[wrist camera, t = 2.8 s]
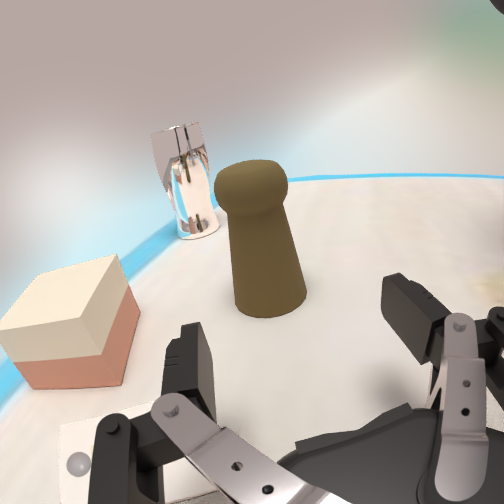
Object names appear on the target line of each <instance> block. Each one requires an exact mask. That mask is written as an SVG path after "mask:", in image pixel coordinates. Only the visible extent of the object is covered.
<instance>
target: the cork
mask: <svg viewBox="0 0 504 504" xmlns="http://www.w3.org/2000/svg"><path fill="white" fill-rule="evenodd" d="M287 191H288V182H287V177H286V174H285V172H284V170H283V169H282V168H281V166H280V165H279V164H278V163H276V162H274V161H270V160H249V161H243V162H240V163H236V164H233V165H231V166H229V167H226V168H224V169H223V170H221V171H220V172H219V173H218V174H217V177H216V179H215V183H214V193H215V197H216V200H217V202H218V204H219V206H220V207H221V208H222V209H223V210H224V211H225V212H226V213H227V216H228V228H229V240H230V252H231V263H232V274H233V285H234V295H235V305H236V306H237V308H238V310H239V311H241V312H242V313H244V314H245V315H248V316H252V317H256V318H271V317H277V316H281V315H284V314H286V313H289V312H291V311H293V310H294V309H296V308H297V307H299V306H300V305H301V304H302V303H303V301H304V300H305V299H306V294H307V290H306V286H305V282H304V278H303V275H302V271H301V267H300V263H299V260H298V256H297V252H296V249H295V245H294V241H293V238H292V234H291V231H290V227H289V224H288V220H287V217H286V213H285V210H284V206H283V201H284V199H285V197H286V195H287Z"/></svg>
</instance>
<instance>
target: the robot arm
mask: <svg viewBox="0 0 504 504" xmlns="http://www.w3.org/2000/svg"><path fill="white" fill-rule="evenodd" d="M490 1H491V3H492V4H493V5H494V6H495V8H496V9H497V10H498V11H500V12H501V13H503V14H504V0H490ZM381 311H382V314H383V317H384V318H385V320H386V321H387V322H388V323H389V325H390V326H391V327H392V328H393V330H394V331H395V332H396V333H397V335H398V336H399V337H400V339H401V340H402V341H403V342H404V344H405V345H406V346H407V348H408V349H409V350H410V351H411V353H412V354H413V355H414V357H415V358H416V359H417V361H418V362H419V363H420V365H423V364H425V363H427V362H429V361H431V363H432V366H431V371H430V381H429V389H428V396H427V402H426V406H425V408H417V409H411V407H410V405H409V404H408V403H405V404H403V405H401V406H399V407H396V408H394V409H392V410H389V411H387V412H385V413H382V414H381V415H380V416H378V417H377V418H375V419H374V420H372V421H371V422H369V423H368V424H366V425H365V426H363V427H362V428H360V429H358V430H355V431H346V432H337V433H327V434H322V435H319V436H315V437H312V438H308V439H305V440H301V441H297V442H295V445H296V450H294V451H292V452H290V453H289V454H287V455H286V456H284V457H283V458H282V459H280V460H279V461H278V462H277V463H275V462H274V461H272V460H271V459H269V458H268V457H267V456H265V455H264V454H262V453H261V452H259V451H258V450H257V449H255V448H254V447H253V446H251V445H250V444H248V443H247V442H246V441H244V440H243V439H242V438H240V437H239V436H238V435H237V434H235V433H234V432H233V431H231V430H230V429H228V428H226V427H223V428H221V427H220V426H218V425H217V420H216V407H215V393H214V377H213V362H212V356H211V352H210V348H209V346H208V343H207V340H206V337H205V335H204V332H203V329H202V326H201V324H200V322H196V323H191V324H186V325H182V326H181V336H180V338H177V339H172V340H171V342H170V344H169V345H168V347H167V348H166V355H165V359H166V360H165V363H164V367H165V368H164V372H163V381H162V390H161V397H159V398H158V399H157V400H156V401H155V402H154V403H153V405H152V407H151V411H149V412H147V413H145V414H143V415H140V416H137V417H134V418H132V419H128V417H126V416H125V415H123V414H121V413H112V414H109V415H107V416H105V417H104V418H103V419H101V421H100V422H99V423H98V425H97V428H96V434H95V440H94V447H93V455H92V462H91V471H90V481H89V492H88V504H165V494H164V477H163V465H165V464H168V463H171V462H173V461H176V460H179V459H181V458H185V459H186V460H187V461H188V462H189V463H190V464H191V465H192V466H193V467H194V468H195V469H196V470H197V471H198V472H199V473H200V474H201V475H202V476H204V477H205V478H206V479H207V480H208V481H209V482H210V483H211V484H212V485H213V486H214V487H215V488H216V489H217V490H219V491H220V492H221V493H222V494H223V495H224V496H225V497H226V498H227V499H229V500H230V501H231V502H232V503H233V504H504V432H501V431H498V430H495V429H491V428H488V427H486V386H487V387H488V389H489V390H490V392H491V393H492V394H493V396H494V397H495V399H496V400H497V402H498V403H499V405H500V406H501V407H502V409H503V410H504V358H503V357H502V356H501V355H502V352H503V350H504V307H494V308H492V309H490V311H489V313H488V316H487V319H481V320H475V321H474V320H473V319H472V318H471V317H469V316H468V315H466V314H463V313H453V314H452V313H451V312H450V311H449V310H448V309H447V308H446V307H445V306H444V305H443V304H442V303H441V302H440V301H438V300H437V299H436V298H435V297H433V295H432V294H431V293H430V292H428V290H426V289H425V288H424V287H423V286H422V285H421V284H419V283H416V282H414V281H412V280H410V281H409V280H408V279H407V278H405V277H404V276H403V275H402V274H401V273H396V274H392V275H389V276H386V277H384V278H383V281H382V295H381Z"/></svg>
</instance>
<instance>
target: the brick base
mask: <svg viewBox="0 0 504 504" xmlns="http://www.w3.org/2000/svg"><path fill="white" fill-rule="evenodd" d="M139 315H140V310H139V308H138V305H137V303H136V301H135V298H134V296H133V294H132V291H131V289H130V286H129V284H128V281H127V279H126V277H125V274H124V271H123V269H122V266H121V264H120V261H119V258H118V256H117V254H114V255H110V256H106V257H102V258H98V259H94V260H90V261H86V262H83V263H79V264H75V265H72V266H68V267H64V268H60V269H57V270H53V271H49V272H46V273H42V274H39V275H38V276H37V277H36V278H35V279H34V281H33V282H32V283H31V284H30V285H29V286H28V287H27V289H26V290H25V291H24V292H23V293H22V294H21V296H20V297H19V298H18V299H17V301H16V302H15V303H14V304H13V305H12V307H11V308H10V309H9V310H8V312H7V313H6V314H5V316H4V317H3V318H2V319H1V321H0V344H1V346H2V347H3V349H4V350H5V352H6V353H7V355H8V356H9V358H10V359H11V361H12V362H13V363H14V365H15V366H16V368H17V369H18V370H19V372H20V373H21V374H22V376H23V377H24V378H25V380H26V381H27V382H28V383H29V385H30V386H31V387H32V388H33V389H70V388H91V387H106V386H119V385H121V384H122V380H123V376H124V371H125V367H126V363H127V359H128V355H129V351H130V348H131V344H132V340H133V336H134V333H135V329H136V326H137V322H138V319H139Z"/></svg>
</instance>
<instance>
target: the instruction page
mask: <svg viewBox="0 0 504 504" xmlns="http://www.w3.org/2000/svg"><path fill="white" fill-rule="evenodd" d="M155 401H156V400H154V401H151V402H148V403H145V404H141V405H138V406H135V407H131V408H128V409H124V410H121V411H117V412H114V413H121V414H123V415H125V416H126V417H128V419H132V418H134V417H137V416H140V415H143V414H145V413H147V412H149V411H151V407H152V405H153V403H154V402H155ZM110 414H112V413H110ZM107 415H109V414H106V415H102V416H98V417H94V418H90V419H86V420H82V421H77V422H73V423H68V424H64V425H60V429H59V491H60V504H88V492H89V481H90V471H91V462H92V455H93V447H94V440H95V434H96V428H97V425H98V423H99V422H100V421H101V419H103V418H104V417H105V416H107ZM163 477H164V494H165V504H171V503H175V502H179V501H183V500H187V499H191V498H194V497H198V496H201V495H204V494H207V493H211V492H214V491H217V489H216V488H215V487H214V486H213V485H212V484H211V483H210V482H209V481H208V480H207V479H206V478H205V477H204V476H202V475H201V474H200V473H199V472H198V471H197V470H196V469H195V468H194V467H193V466H192V465H191V464H190V463H189V462H188V461H187V460H186V459H185V458H181V459H179V460H176V461H173V462H171V463H168V464H165V465H163Z"/></svg>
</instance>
